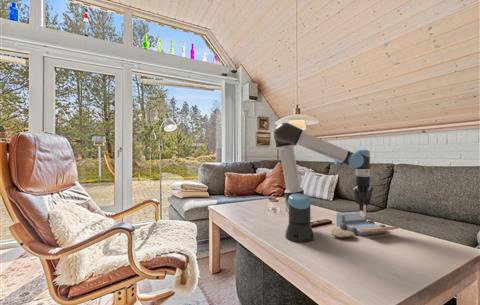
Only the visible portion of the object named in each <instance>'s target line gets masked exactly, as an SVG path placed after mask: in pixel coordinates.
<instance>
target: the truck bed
mask: <svg viewBox="0 0 480 305" xmlns="http://www.w3.org/2000/svg"><path fill="white" fill-rule="evenodd" d="M367 218H368V216H367V212H366V217H363V216H361V215H360V210H359V211H349V212H336V227H338V228H340V230H346V231H351V232H353V233H354V235H353V236H355V235H356V236H367V235H368V236H369V235H376V234H377V235H378V234H382V233H383V234H384V233H386V232H387V230H384V231H374V232H372V231H361V230H360V229H368V228H379V227H387V226H386V225H385V224H379V225H378V224H375V221H373V220H368V219H367Z"/></svg>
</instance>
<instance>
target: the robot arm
mask: <svg viewBox="0 0 480 305" xmlns="http://www.w3.org/2000/svg"><path fill="white" fill-rule="evenodd" d="M273 139H274V142H275V147H276V149H277V150H278V151H279V156H280V162H281V167H282V168H281V169H282V173H283V179H284V184H285V190H284V192H283V193H284V198H285V199H284V201H285V202H284V203H285V206H286V207H287V210H288V224H287V227H286V231H285V239H286V240H287V241H290V242H292V243H297V244H298V243H300V244H302V243H303V244H304V243H312V242H313V241H314V240H315V235H314V230H313V228H312V225H311V224H312V223H311V204H312V202H311V197H310V196H309V195H307V194H305V191H304V188H303V187H302V186H301V183H300V177H299V172H298V165H297V161H296V160H297V159H296V156H295V150H294V148H295V146H300V147H302V148H305V149H307V150H310V151H312V152H314V153H317V154H319V155H321V156H324V157H327V158H329V159H331V160H333V163H334V166H335V167H348V168H353V169H355V183H356V184H355V187H352V188H351V189H352V191H353V194H354V198H355V203H356V205H359V211H360V215H361V216H363V217H366V213H367V210H368V208H367V206H369V205H370V203H371V199H372V193H373V190H374V187H372V186H371V184H370V183H371V177H370V175H371V165H370V164H371V155H370V154H371V153H370V150H368V149H357V150H355V151H354V152H352V151H350V150H348V149H345V148H342V147H341V146H338V145H335V144H333V143H330V142H328V141H326V140H323V139H321V138H318V137H316V136H314V135H312V134H310V133H307V132H304V129H302V128H300V127H297V126H296V125H294V124H292V123H289V122H281V123H278V125H277V126H276V128H275V129H274V131H273Z"/></svg>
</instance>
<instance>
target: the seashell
mask: <svg viewBox="0 0 480 305" xmlns="http://www.w3.org/2000/svg"><path fill="white" fill-rule="evenodd" d="M331 235H332V236H335V237H337V238H338V239H339V238H340V239H341V238H343V239H344V238H350V237H353V236H355V235H354V233H353V232H351V231H347V230H342V229H337V228H334V229H332V230H331Z"/></svg>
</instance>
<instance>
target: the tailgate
mask: <svg viewBox="0 0 480 305" xmlns="http://www.w3.org/2000/svg"><path fill="white" fill-rule="evenodd" d="M398 229H399V226H386V227H379V228H368V229H360V230H361V231H372V232H374V231H384V230H386V231H393V230H398Z"/></svg>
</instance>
